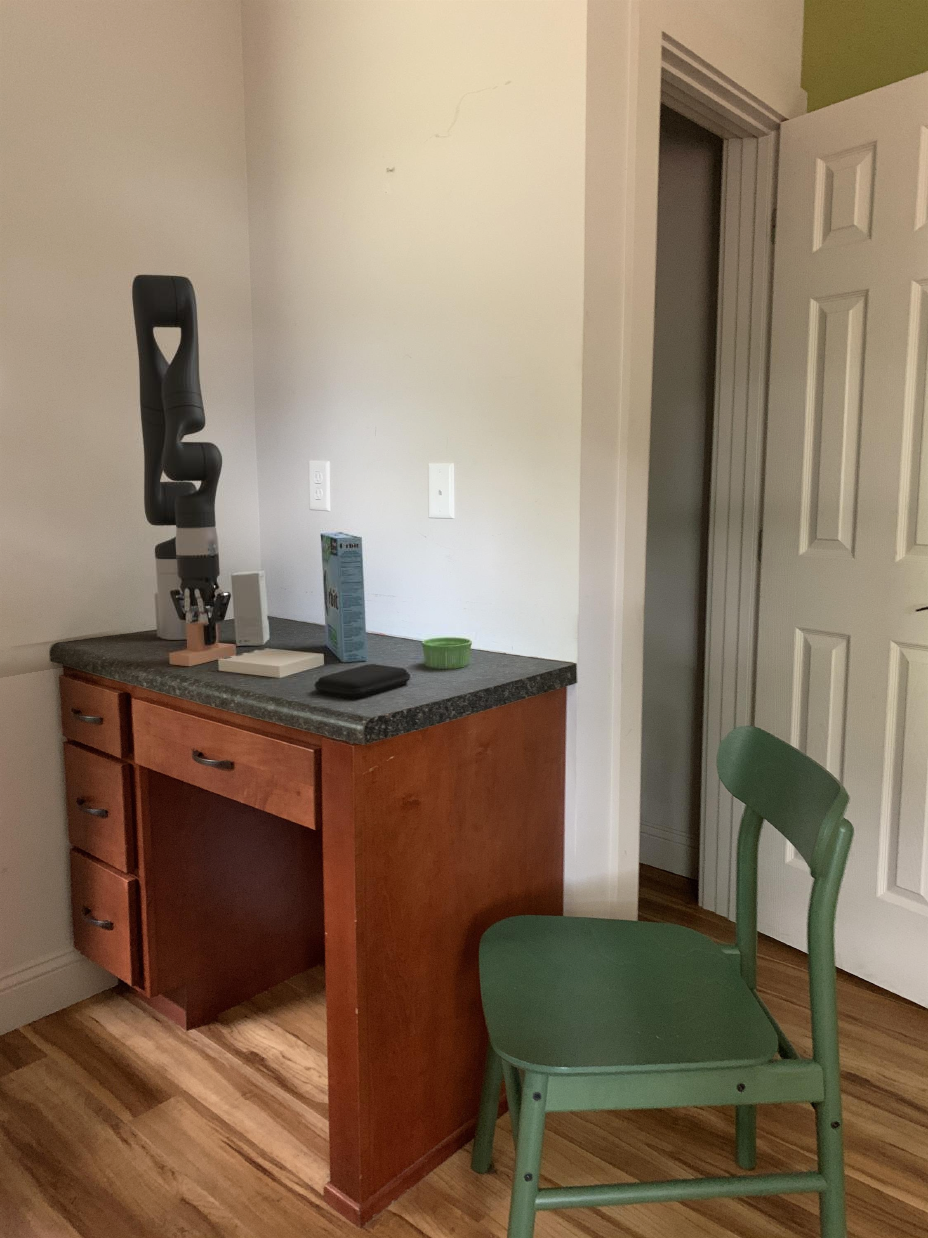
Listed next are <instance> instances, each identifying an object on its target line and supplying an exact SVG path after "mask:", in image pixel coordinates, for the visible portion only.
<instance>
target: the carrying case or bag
mask: <svg viewBox="0 0 928 1238" xmlns="http://www.w3.org/2000/svg"><path fill="white" fill-rule="evenodd" d="M410 679H411V673H409V672H408V670H407V669H405V668H404V667H398V666H391V665H390V666H389V665H384V664H376V663H373V664H372V663H371V664H365V665H361V666H358V667H353V668H348V669H345V670H342V671H337V672H335V673H330V674H327V675H324V676H321V677H320V678H318V679H317V681H315V683H314V685H313V686H314V689H315V690H316V692H318V693H319V694H320V695H322V696H328V697H335V698H339V699H340V698H341V699H347V700H359V699H362V698H367V697H369V696H373V695H376V694H380V693H383V692H386V691H390V690H393V689H397V688H399V687H402V686H404V685H406V684H407V683H408V682H409V680H410Z"/></svg>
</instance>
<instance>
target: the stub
mask: <svg viewBox="0 0 928 1238" xmlns="http://www.w3.org/2000/svg"><path fill="white" fill-rule="evenodd" d="M203 626H205V625H204V622H203V621H199V622H194V623H188V624H186V635H187V639H186V646H187V647H186V649H183V650H177V651H173V652H169V653H168V658H169V659H168V660H169V664H170V665H173V666H174V665H176V666H182V667H183V666H185V667H193V666H197V665H200V664H201V665H202V664H205V663H208V662H214V661H217V660H218V659H222V658H226V657H230V656H234V655H237V645H236V644H232V643H224V642H223V643H222V642H219V627H218V623H217V624H216V638H217V639H216V642H215V644H213V645H205V644H204V628H203Z"/></svg>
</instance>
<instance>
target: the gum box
mask: <svg viewBox="0 0 928 1238" xmlns="http://www.w3.org/2000/svg"><path fill="white" fill-rule="evenodd" d="M320 545H321V546H320V547H321V565H322V585H323V587H322V589H323V604H324V625H325V626H324V627H325V645H326V647H327V648H329V650H330V651H331V652H332V653H333V654H334V655H335V656H336V657H337V658H338V659H339V660H340V661H341V663H349V662H350V663H351V662H363V661H367V660H368V647H367V644H368V643H367V628H366V627H367V626H366V605H365V604H366V600H365V579H364V578H365V577H364V559H363V558H364V557H363V538H362V537H361V536H357V535H354V534H350V533H344V532H342V531H340V532H338V531H337V532H321V533H320Z"/></svg>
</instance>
